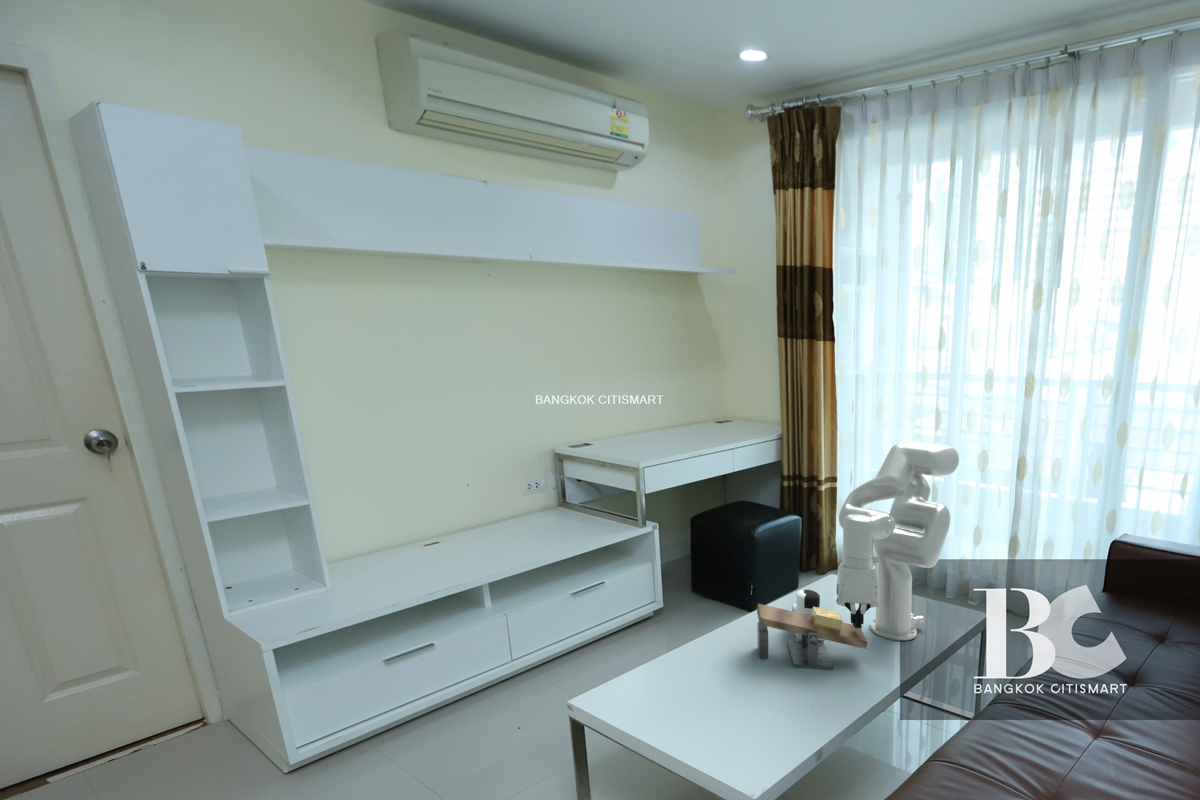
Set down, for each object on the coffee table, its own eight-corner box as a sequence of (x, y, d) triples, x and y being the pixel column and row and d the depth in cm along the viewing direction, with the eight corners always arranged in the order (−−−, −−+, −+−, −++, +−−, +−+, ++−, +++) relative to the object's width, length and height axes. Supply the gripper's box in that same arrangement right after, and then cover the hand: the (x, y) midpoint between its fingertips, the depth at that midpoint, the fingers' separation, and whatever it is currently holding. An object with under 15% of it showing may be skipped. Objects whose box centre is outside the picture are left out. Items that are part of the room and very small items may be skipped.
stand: (823, 644, 171) (823, 613, 170) (833, 671, 158) (833, 636, 157) (756, 641, 175) (756, 609, 174) (760, 666, 161) (760, 632, 160)
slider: (836, 624, 166) (839, 612, 165) (840, 632, 161) (843, 620, 160) (810, 618, 167) (813, 606, 166) (813, 626, 162) (816, 614, 162)
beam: (857, 632, 167) (859, 626, 167) (866, 648, 158) (867, 642, 158) (756, 610, 171) (758, 603, 171) (759, 624, 163) (760, 617, 162)
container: (817, 628, 181) (818, 587, 180) (824, 641, 174) (825, 598, 172) (791, 627, 182) (791, 586, 181) (797, 640, 174) (797, 597, 173)
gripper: (883, 557, 163) (882, 621, 165) (825, 555, 166) (825, 618, 167) (891, 567, 156) (890, 634, 157) (831, 565, 158) (830, 631, 160)
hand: (856, 625), depth 162 cm, fingers closed
